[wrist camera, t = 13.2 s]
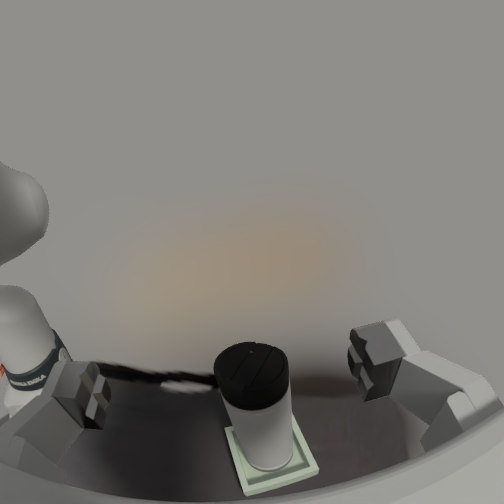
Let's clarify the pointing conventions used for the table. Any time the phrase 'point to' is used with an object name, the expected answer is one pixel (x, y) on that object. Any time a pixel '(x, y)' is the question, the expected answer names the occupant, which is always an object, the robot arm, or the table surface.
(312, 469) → the tray
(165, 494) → the table surface
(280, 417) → the travel mug
